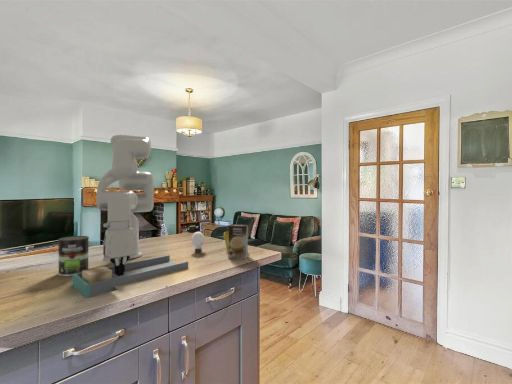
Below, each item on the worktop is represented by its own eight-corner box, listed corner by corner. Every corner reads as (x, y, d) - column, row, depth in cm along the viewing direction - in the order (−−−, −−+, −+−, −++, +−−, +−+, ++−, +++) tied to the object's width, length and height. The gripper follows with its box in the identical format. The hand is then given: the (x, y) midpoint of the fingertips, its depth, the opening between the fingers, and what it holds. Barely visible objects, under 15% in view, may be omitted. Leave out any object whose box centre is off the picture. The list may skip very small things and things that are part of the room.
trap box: (168, 263, 122) (168, 254, 122) (188, 271, 111) (188, 261, 111) (72, 285, 95) (72, 274, 94) (86, 298, 84) (86, 285, 84)
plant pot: (234, 253, 141) (235, 235, 141) (219, 251, 146) (219, 233, 146) (246, 249, 150) (246, 232, 149) (231, 247, 155) (231, 230, 155)
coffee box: (227, 258, 131) (227, 225, 131) (230, 255, 137) (230, 224, 137) (246, 259, 130) (246, 226, 130) (248, 255, 136) (248, 224, 136)
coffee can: (87, 274, 107) (87, 239, 107) (55, 278, 102) (55, 241, 102) (90, 267, 116) (89, 234, 116) (61, 270, 111) (60, 236, 111)
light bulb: (203, 253, 140) (203, 232, 140) (190, 253, 140) (190, 232, 140) (205, 250, 147) (205, 230, 147) (192, 250, 147) (192, 230, 146)
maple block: (104, 278, 97) (104, 266, 97) (112, 283, 93) (112, 270, 93) (82, 283, 92) (82, 270, 92) (89, 288, 87) (89, 275, 87)
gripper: (100, 228, 90) (100, 282, 91) (144, 224, 101) (144, 272, 101) (93, 226, 95) (93, 277, 96) (135, 222, 106) (136, 268, 107)
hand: (119, 274), depth 99 cm, fingers closed
